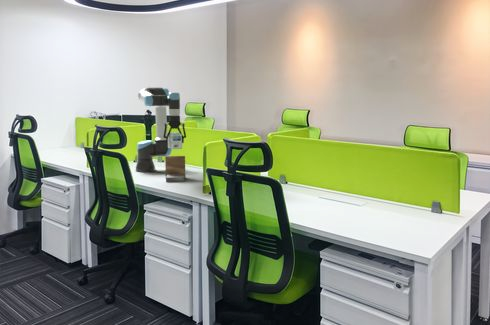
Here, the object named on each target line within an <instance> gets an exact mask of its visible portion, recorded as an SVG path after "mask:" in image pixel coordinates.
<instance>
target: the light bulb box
mask: <svg viewBox="0 0 490 325" xmlns="http://www.w3.org/2000/svg"><path fill="white" fill-rule="evenodd" d="M181 133H182V132H181ZM181 133H179V132H174V131H173V132H170V134H169V136H168V138H169V148H171V149H172V150H182V149H183V143H182V135H183V133H182V134H181Z"/></svg>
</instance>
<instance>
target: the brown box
mask: <svg viewBox="0 0 490 325" xmlns="http://www.w3.org/2000/svg"><path fill="white" fill-rule="evenodd" d="M164 158H165V159H164V160H165V164H164V165H165V182H166V183H169V182H170V183H174V182H177V183H179V182H182V183H183V182H184V181H185V179H186V155H169V156H164Z"/></svg>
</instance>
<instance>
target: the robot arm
mask: <svg viewBox="0 0 490 325" xmlns="http://www.w3.org/2000/svg"><path fill="white" fill-rule="evenodd" d="M137 97H138V100H139V101H141V102H142V103H143V104H144V106H146V107H154V109H155V110H154V112H155V130H156V131H155V133H156V134H155V136H156V137H155V138H154V141H153V140H150V139H149V140H142V141H139V142H138V143H137V146H136V149H137V150H136V151H137V154H136V155H137V161H136V165H135V172H139V173H141V172H142V173H147V172H154V171H156V166H155V164H154V160H153V158H155V157H156V158H157V157H159V158H160V157H165V156H171V154H172V150H173V149H171V148H169V138H168V136H169V134H170V133H172V130H173V129H175V130H178V133H181V134H182V144H184V143H185V142H184V139H185V138H187V134H186V130H185V128H186V127H185V123H183V122H181V104H180V103H181V102H180V101H181V100H180V99H181V96H180V93H179V92H170V90H169V88H167V87H145V88H142V89H141V90H140V91H139V92H138V95H137ZM167 107H168V115H169V116H168V118H167ZM167 119H168V121H167ZM168 126H169V127H170V128H169V130H168ZM180 126H181V127H182V130H181V128H180ZM182 132H183V133H182Z"/></svg>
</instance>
